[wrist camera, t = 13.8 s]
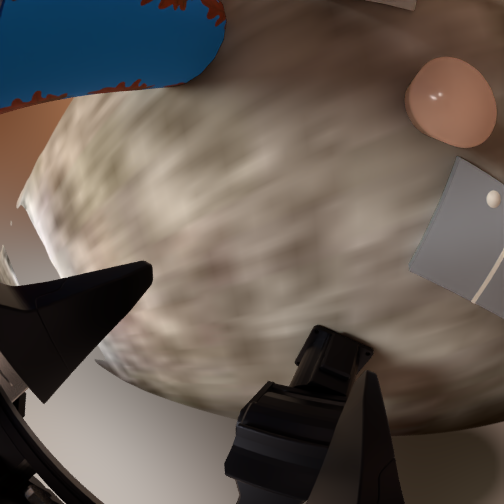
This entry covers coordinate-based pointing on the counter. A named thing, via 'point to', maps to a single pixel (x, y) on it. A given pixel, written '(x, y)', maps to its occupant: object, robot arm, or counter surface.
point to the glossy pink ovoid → (451, 103)
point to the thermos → (102, 46)
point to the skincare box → (399, 3)
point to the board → (466, 239)
